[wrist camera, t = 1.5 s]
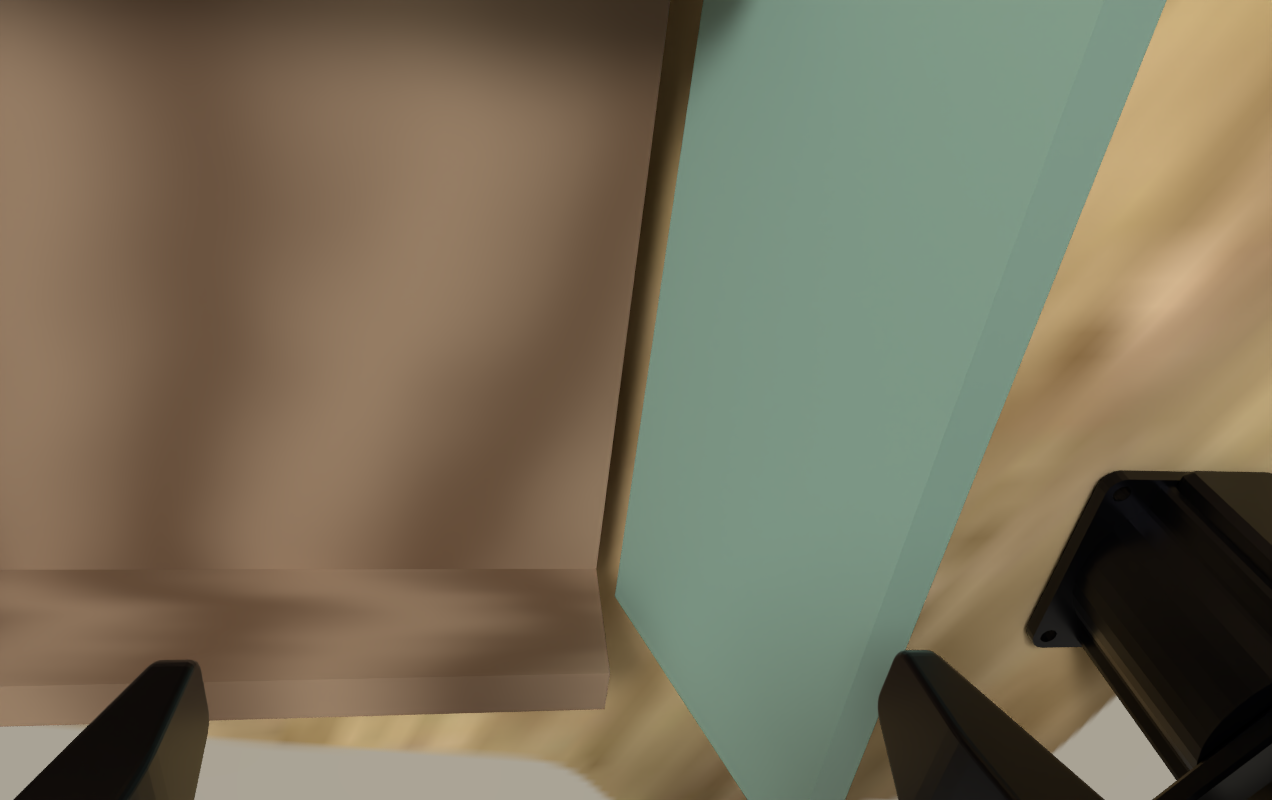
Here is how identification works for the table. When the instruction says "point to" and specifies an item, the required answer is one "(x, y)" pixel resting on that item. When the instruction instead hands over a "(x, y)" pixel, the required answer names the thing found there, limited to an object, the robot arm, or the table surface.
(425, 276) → the truck bed
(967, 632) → the table surface
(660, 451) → the tailgate
